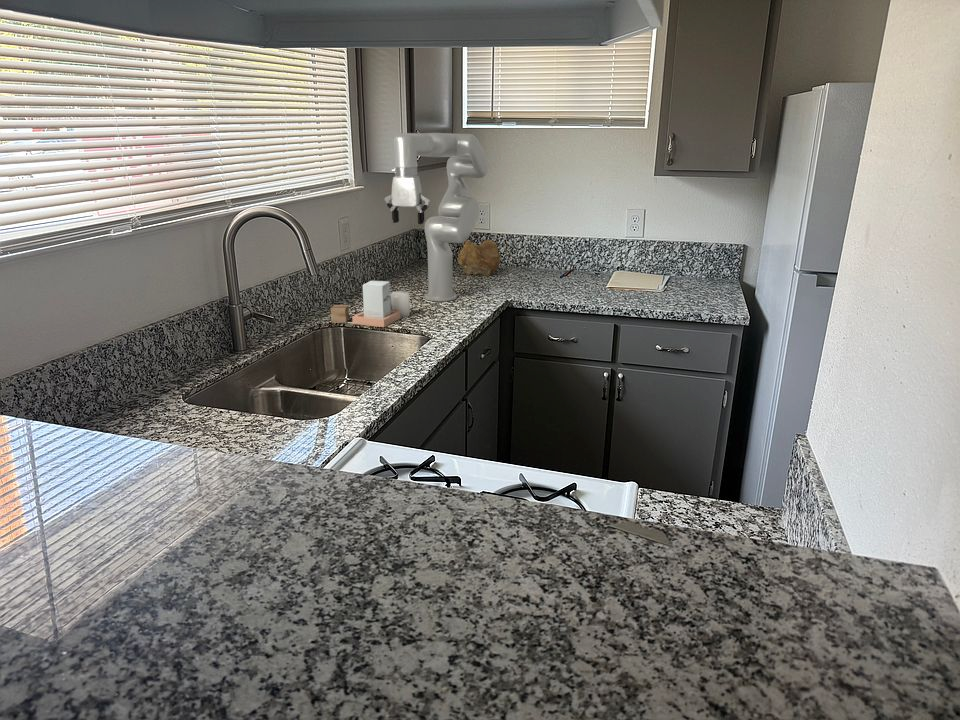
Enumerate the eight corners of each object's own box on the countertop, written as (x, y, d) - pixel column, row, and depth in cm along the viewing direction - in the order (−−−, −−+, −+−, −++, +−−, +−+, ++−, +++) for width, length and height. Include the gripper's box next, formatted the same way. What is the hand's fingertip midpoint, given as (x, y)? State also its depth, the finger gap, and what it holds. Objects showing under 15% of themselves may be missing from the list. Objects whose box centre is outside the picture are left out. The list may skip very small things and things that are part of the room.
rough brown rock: (480, 282, 305) (483, 248, 300) (452, 273, 314) (454, 240, 309) (512, 275, 322) (515, 243, 317) (484, 267, 332) (487, 236, 327)
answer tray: (370, 315, 248) (369, 308, 247) (400, 318, 244) (400, 311, 243) (352, 323, 237) (352, 316, 236) (384, 327, 233) (383, 320, 232)
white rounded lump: (397, 312, 252) (396, 290, 250) (412, 313, 250) (412, 291, 248) (388, 316, 247) (387, 294, 244) (405, 318, 244) (404, 295, 242)
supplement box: (383, 322, 236) (382, 285, 232) (363, 320, 238) (361, 284, 233) (391, 316, 243) (390, 281, 239) (371, 315, 244) (370, 280, 240)
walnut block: (335, 318, 243) (334, 304, 242) (349, 319, 243) (348, 305, 241) (331, 322, 239) (330, 308, 237) (345, 322, 238) (345, 308, 237)
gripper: (378, 172, 237) (381, 223, 243) (424, 174, 231) (426, 225, 237) (389, 171, 244) (391, 220, 250) (433, 172, 238) (435, 222, 244)
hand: (408, 223), depth 243 cm, fingers open, 9 cm apart
